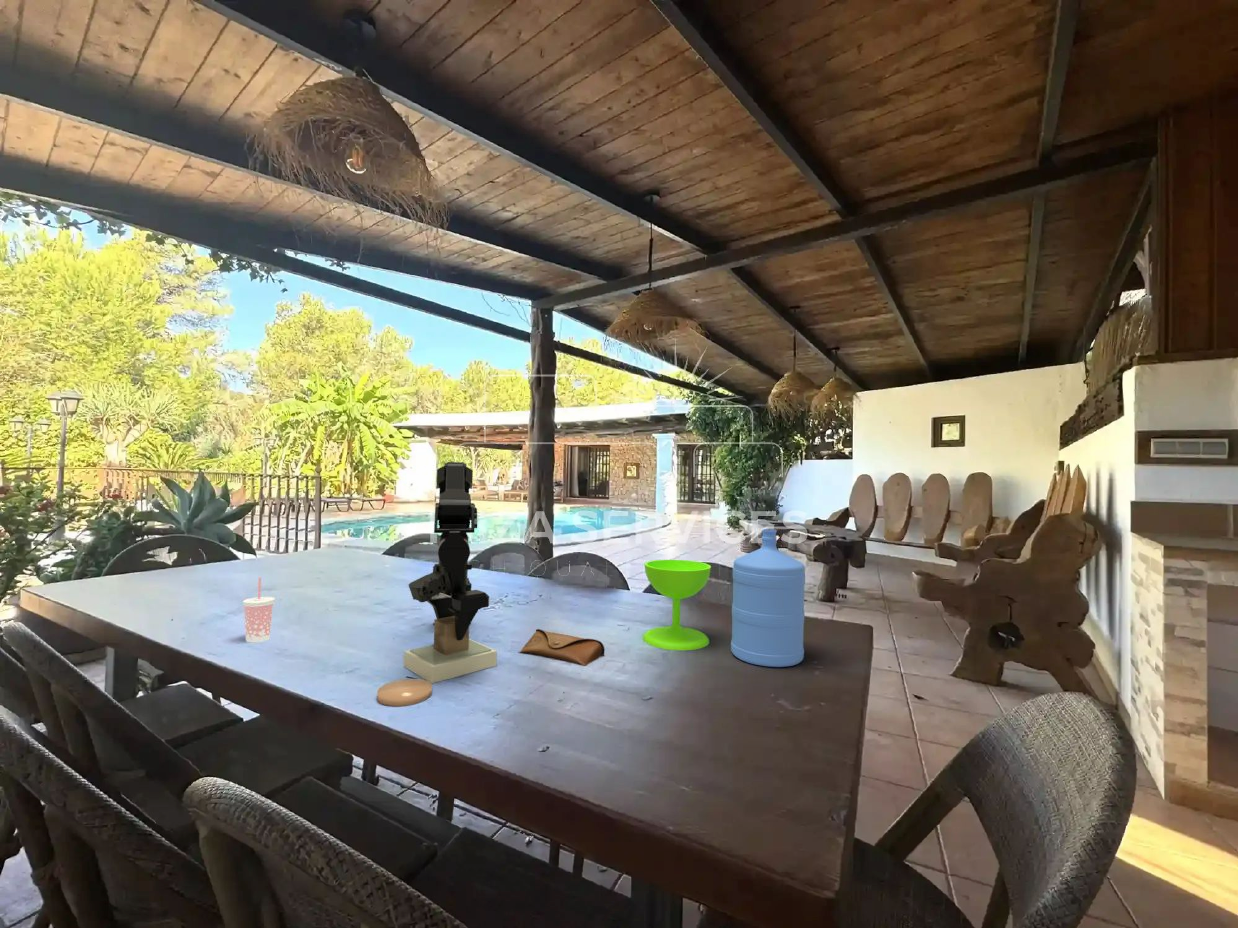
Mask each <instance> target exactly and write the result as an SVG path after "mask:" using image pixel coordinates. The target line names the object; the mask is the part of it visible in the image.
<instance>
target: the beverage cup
mask: <svg viewBox="0 0 1238 928" xmlns="http://www.w3.org/2000/svg"><path fill="white" fill-rule="evenodd" d="M261 586H262V577H258V588H257V589H258V591H257V597H251V598H247V599H244V600H243V601H242V606H243V607H244V628H245V629H244V630H245V642H247V643H259V642H260V643H261V642H265V641H268V640H270V638H271V628H272V618H273V608H274V603H275V601H276V600H275V599H276V598H275V597H273V596H261V593H262V590H261V589H262V587H261Z"/></svg>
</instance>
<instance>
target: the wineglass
mask: <svg viewBox="0 0 1238 928" xmlns="http://www.w3.org/2000/svg"><path fill="white" fill-rule="evenodd" d="M711 568H712V566H711V565H710V564H708V563H706V562H705V563H704V562H700V561H695V560H684V559H655V560H650V561H646V562H645V563H644V570H645V574H646V575H645V576H646V578H647V581H648V582H649V584H650V585H651V587H653V589H655V591H656V592H658V593H659V594H660V595H662V596H664V597H667V598H669V599H672V615H671V616H672V618H671V619H672V621H671V622H672V623H671V625H670V626H659V627H655V628H652V629H651V628H650V629H649V630H647V631H645V633H644V634H643V636H642V640H643V642H645V643H646V644H648V645H649V646H652V647H655V648H658V649H663V650H668V651H669V650H670V651H693V650H694V651H695V650H698V649H703V648H704V647H707V646H708V645H710V640H709V637H708V636H707V635H706V634H705V633H703V632H702V631H699V630H696V629H694V628H689V627H683V626H682V625H681V607H682V606H681V602H682V601H681V600H683V599H686V598H690V597H693V596H695V595H696V594H698V593H699V592H700V591H701V590H702V589H703V588H704V587H705V586H706V585H707V582H708V580H709V577H710V575H711Z"/></svg>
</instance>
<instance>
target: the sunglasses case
mask: <svg viewBox="0 0 1238 928" xmlns="http://www.w3.org/2000/svg"><path fill="white" fill-rule="evenodd" d="M517 653H518V654H523V655H530V656H531V655H532V656H537V657H543V658H547V659H551V660H558V661H562V662H566V663H571V664H575V665H579V666H584V667H586V666H588V665H589V664H591V663H592V662H594V661H596V660H598V659H600V658H601V657H603V656H605V646H604V643H602V642H601V641H600V640H598V639H594V638H583V637H578V636H573V635H568V634H563V633H562V634H561V633H556V632H551V631H546V630H543V629H540V628H537V629H535V632H534V633H533V634H532V636H531V637H530V639H528V641H527V642H526V643H525V644H524V645H523V647H522V648H521V650H520V651H517Z"/></svg>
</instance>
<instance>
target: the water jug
mask: <svg viewBox="0 0 1238 928" xmlns="http://www.w3.org/2000/svg"><path fill="white" fill-rule="evenodd" d="M761 532H762V536H761V546H760V548H758V549H756V550H753V551H751V552H749V553H746V554H744V555H742V556H740V557H736V558H735V560H733V566H732V582H733V583H732V584H733V585H732V588H733V589H732V605H731V616H732V618H731V619H732V620H731V621H732V623H731V624H732V625H731V627H732V628H731V641H730V650H731V652H732V654H733V656H735V657H736V658H738V659H739V660H741V661H743V662H745V663H748V664H751V665H756V666H762V667H770V668H786V667H792V666H795V665H798V664H800V663H801V662H802V661H803V660H804V657H805V656H804V655H805V649H804V623H805V615H806V613H805V585H806V572H805V571H806V567H805V564H804V563H803V562H801V561H799V560H798V559H795V558H794V557H792V556H790V555H788V554H786V553H785V552H783V551H781V550H779V549H778V548H777V532H778V530H776V529H762V530H761Z"/></svg>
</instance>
